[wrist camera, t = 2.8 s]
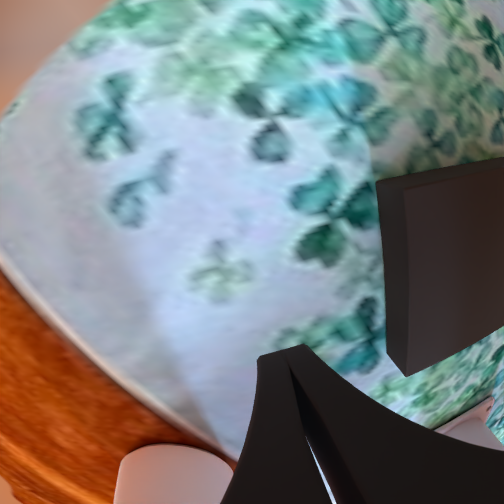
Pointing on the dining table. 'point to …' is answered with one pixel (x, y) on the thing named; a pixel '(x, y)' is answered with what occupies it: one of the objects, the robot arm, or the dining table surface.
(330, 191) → the dining table surface
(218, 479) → the can
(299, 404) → the robot arm
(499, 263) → the tab pad
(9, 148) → the dining table surface
